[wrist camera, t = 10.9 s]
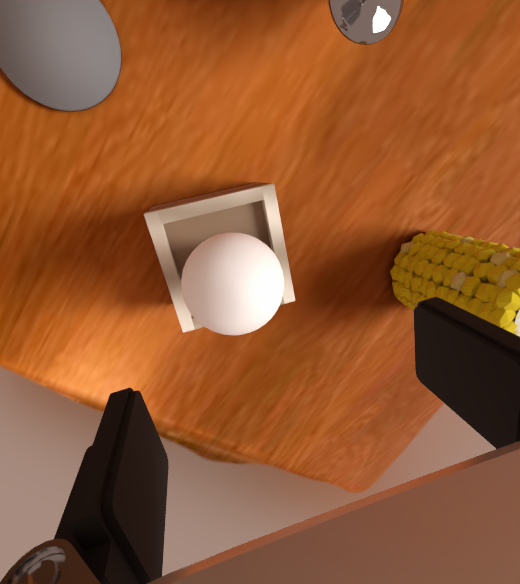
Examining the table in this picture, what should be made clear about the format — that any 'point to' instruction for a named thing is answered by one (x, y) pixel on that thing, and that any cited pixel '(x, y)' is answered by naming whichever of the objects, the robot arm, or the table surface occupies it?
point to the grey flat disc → (60, 51)
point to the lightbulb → (232, 283)
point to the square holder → (214, 233)
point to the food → (461, 276)
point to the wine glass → (366, 18)
